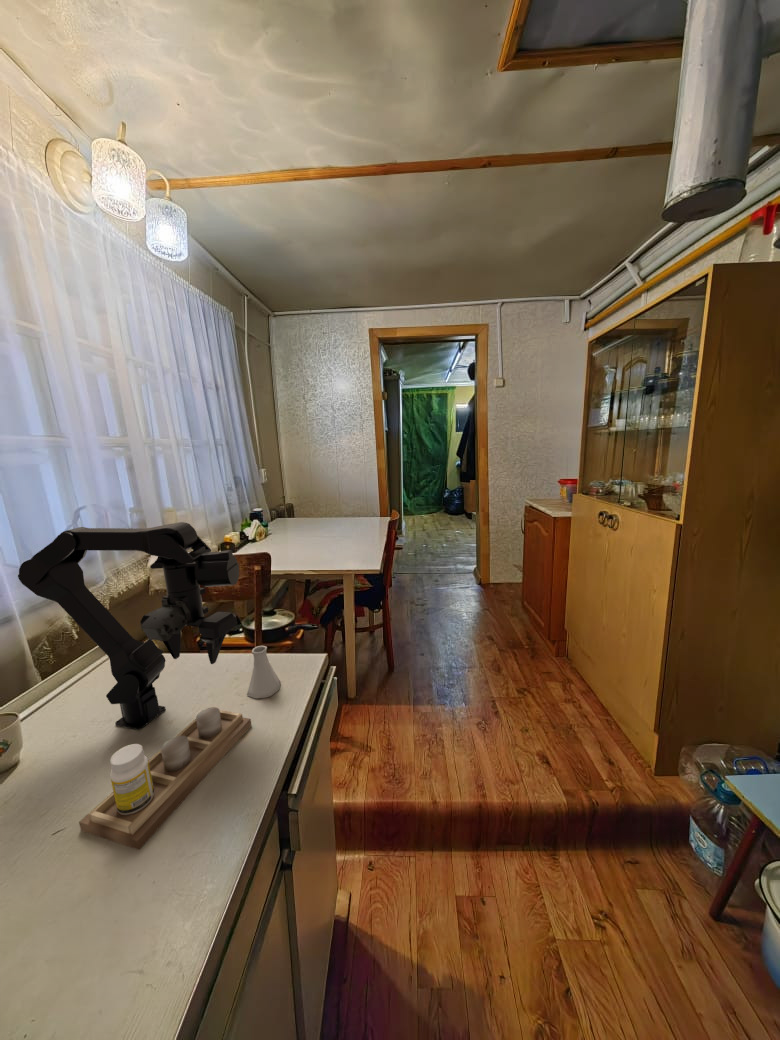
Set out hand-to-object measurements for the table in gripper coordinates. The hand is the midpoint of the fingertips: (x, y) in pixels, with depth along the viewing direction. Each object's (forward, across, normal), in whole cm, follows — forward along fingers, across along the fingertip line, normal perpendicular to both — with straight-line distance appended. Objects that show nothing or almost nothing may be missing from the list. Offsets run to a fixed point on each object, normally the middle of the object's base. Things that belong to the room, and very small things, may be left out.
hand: (194, 660), depth 77 cm
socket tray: (+12, +7, -13) cm, 19 cm away
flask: (+12, +8, +10) cm, 18 cm away
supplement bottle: (+11, +7, -21) cm, 24 cm away
